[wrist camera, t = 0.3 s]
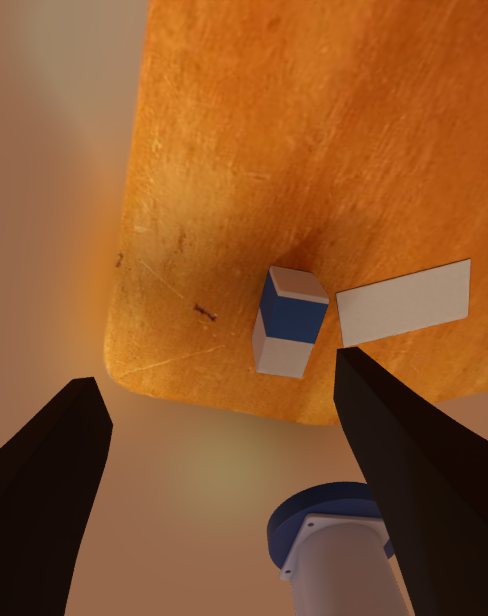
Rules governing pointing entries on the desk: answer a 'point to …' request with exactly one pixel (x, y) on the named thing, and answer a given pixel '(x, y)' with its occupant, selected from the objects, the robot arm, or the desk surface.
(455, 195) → the desk surface
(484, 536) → the robot arm
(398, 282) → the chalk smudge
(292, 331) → the eraser
